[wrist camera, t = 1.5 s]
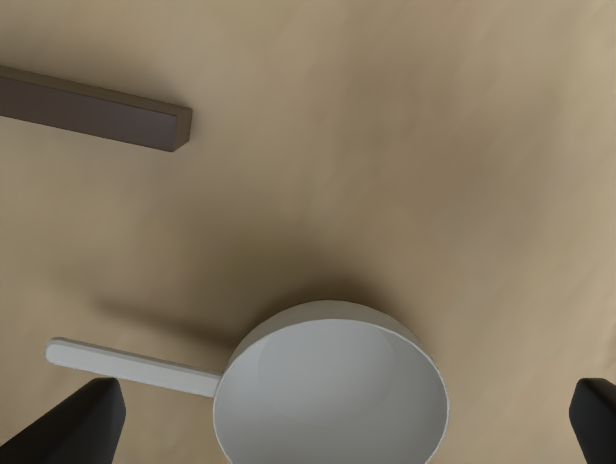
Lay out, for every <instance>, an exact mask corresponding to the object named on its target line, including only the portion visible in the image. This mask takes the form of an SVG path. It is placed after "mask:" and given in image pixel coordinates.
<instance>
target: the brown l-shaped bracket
mask: <svg viewBox="0 0 616 464" xmlns="http://www.w3.org/2000/svg"><path fill="white" fill-rule="evenodd" d="M192 111H193V110H192V109H191V108H186V107H182V106H178V105H173V104H169V103H164V102H160V101H155V100H151V99H146V98H142V97H137V96H133V95H129V94H124V93H120V92H115V91H111V90H106V89H102V88H97V87H93V86H88V85H84V84H80V83H75V82H71V81H66V80H62V79H57V78H53V77H48V76H44V75H39V74H35V73H31V72H26V71H22V70H17V69H13V68H8V67H4V66H0V116H5V117H9V118H14V119H19V120H23V121H28V122H33V123H37V124H42V125H47V126H51V127H56V128H61V129H65V130H70V131H75V132H79V133H84V134H89V135H93V136H98V137H103V138H107V139H112V140H117V141H121V142H126V143H131V144H135V145H140V146H145V147H149V148H154V149H159V150H163V151H168V152H174V151H175V150H177V149H178V148H180V147H181V146H182V145H184V144H185V143H187V142H188V141H189V135H190V127H191V119H192Z"/></svg>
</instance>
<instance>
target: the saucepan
mask: <svg viewBox="0 0 616 464" xmlns="http://www.w3.org/2000/svg"><path fill="white" fill-rule="evenodd" d="M44 354H45V357H46V360H47V361H49V362H51V363H53V364H56V365H61V366H66V367H70V368H75V369H80V370H84V371H89V372H94V373H99V374H103V375H108V376H113V377H117V378H122V379H127V380H132V381H136V382H141V383H146V384H150V385H155V386H160V387H165V388H169V389H174V390H179V391H183V392H188V393H193V394H198V395H202V396H207V397H212V398H215V399H214V404H213V425H214V430H215V434H216V438H217V441H218V443H219V445H220V447H221V449H222V451H223V453H224V455H225V456H226V457H227V459H228V460H229V461H230V463H231V464H427V463H428V462H429V460H430V459H431V457H432V456H433V455H434V453H435V452H436V451H437V449H438V448H439V445H440V443H441V441H442V439H443V437H444V435H445V432H446V428H447V424H448V420H449V398H448V394H447V389H446V385H445V383H444V381H443V378H442V376H441V374H440V372H439V370H438V368H437V367H436V365H435V363H434V361H433V359H432V357H431V356H430V355H429V353H428V352H427V350H426V349H425V348H424V346H423V345H422V344H421V342H420V341H419V340H418V338H417V337H416V336H415V335H414V334H413V333H412V332H411V331H410V330H409V329H408V328H406V327H405V326H404V325H403V324H402V323H400V322H398V321H397V320H395V319H393V318H392V317H390V316H389V315H387V314H385V313H382V312H380V311H378V310H375V309H372V308H370V307H367V306H365V305H361V304H356V303H352V302H347V301H339V300H320V301H311V302H307V303H303V304H300V305H296V306H293V307H291V308H288V309H286V310H284V311H281V312H279V313H277V314H275V315H274V316H272V317H271V318H269V319H267V320H266V321H264V322H263V323H261V324H260V325H258V326H257V327H255V328H254V329H253V330H252V331H251V332H250V333H249V334H248V335H247V336H246V337H245V338H243V340H242V341H241V342H240V344H239V345H238V346H237V348H236V349H235V350H234V352H233V353H232V355H231V357H230V359H229V361H228V364H227V366H226V368H225V370H224V372H223V373H219V372H215V371H210V370H206V369H201V368H197V367H192V366H188V365H183V364H179V363H175V362H170V361H166V360H161V359H157V358H152V357H148V356H143V355H139V354H134V353H130V352H125V351H121V350H116V349H112V348H108V347H103V346H99V345H94V344H90V343H85V342H81V341H76V340H72V339H67V338H63V337H54V338H52V339H51V340H50V341H49V342H48V343H47V345H46V347H45V353H44Z"/></svg>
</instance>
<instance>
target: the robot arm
mask: <svg viewBox="0 0 616 464" xmlns="http://www.w3.org/2000/svg"><path fill="white" fill-rule="evenodd" d="M125 416H126V408H125V403H124V400H123V396H122V392H121V388H120V384H119V382H118V380H117V379H116V378H95V379H93V380H91V381H90V382H88V383H87V384H86V385H84V386H83V387H81V388H80V389H79V390H77V391H76V392H75V393H73V394H72V395H71V396H69V397H68V398H66V399H65V400H64V401H62V402H61V403H60V404H58V405H57V406H55V407H54V408H53V409H51V410H50V411H49V412H47V413H46V414H44V415H43V416H42V417H40V418H39V419H38V420H36V421H35V422H33V423H32V424H31V425H29V426H28V427H27V428H25V429H24V430H23V431H21V432H20V433H18V434H17V435H16V436H14V437H13V438H12V439H10V440H9V441H7V442H6V443H5V444H3V445H2V446H1V447H0V464H112V460H113V457H114V454H115V450H116V447H117V444H118V441H119V437H120V434H121V431H122V428H123V424H124V421H125ZM569 418H570V422H571V425H572V427H573V429H574V432H575V434H576V437H577V439H578V442H579V444H580V447H581V449H582V452H583V454H584V457H585V459H586V462H587V464H616V385H614V384H612V383H611V382H609V381H607V380H606V379H603V378H582V379H580V380H579V381H578V383H577V385H576V388H575V392H574V395H573V398H572V401H571V404H570V407H569Z"/></svg>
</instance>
